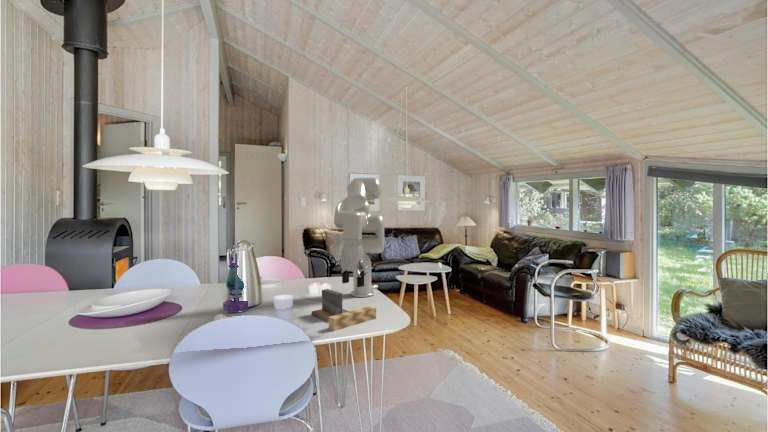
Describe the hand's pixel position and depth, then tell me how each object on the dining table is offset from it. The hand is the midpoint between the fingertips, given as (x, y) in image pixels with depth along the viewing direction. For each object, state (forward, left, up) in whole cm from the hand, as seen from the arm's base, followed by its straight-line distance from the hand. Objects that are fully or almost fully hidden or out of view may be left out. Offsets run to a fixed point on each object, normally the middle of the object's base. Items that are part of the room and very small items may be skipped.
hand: (353, 284), depth 155 cm
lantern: (+27, -52, -16) cm, 61 cm away
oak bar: (0, 0, -16) cm, 16 cm away
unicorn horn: (+39, -26, -17) cm, 49 cm away
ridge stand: (0, -15, -16) cm, 22 cm away
